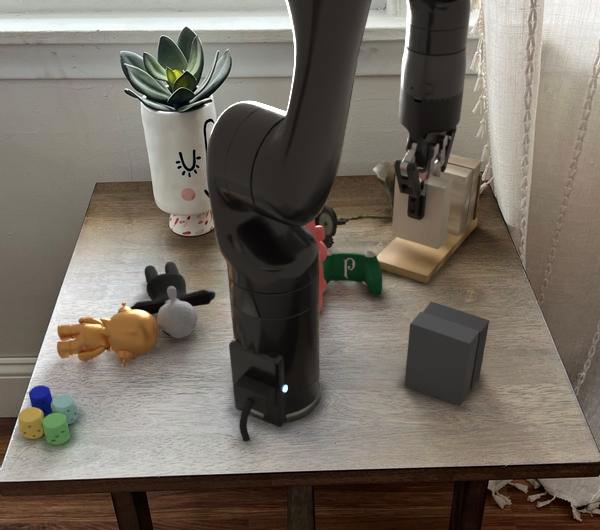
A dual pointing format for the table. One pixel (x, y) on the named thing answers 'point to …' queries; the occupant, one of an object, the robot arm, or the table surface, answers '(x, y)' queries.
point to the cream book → (435, 217)
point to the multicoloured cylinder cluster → (48, 416)
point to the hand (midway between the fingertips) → (420, 211)
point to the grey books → (445, 352)
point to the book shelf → (419, 256)
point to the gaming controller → (354, 269)
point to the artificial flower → (331, 222)
